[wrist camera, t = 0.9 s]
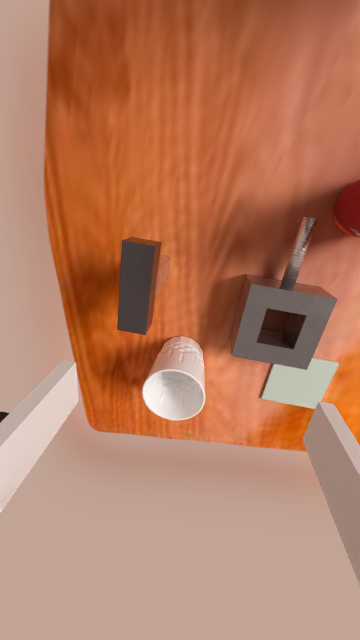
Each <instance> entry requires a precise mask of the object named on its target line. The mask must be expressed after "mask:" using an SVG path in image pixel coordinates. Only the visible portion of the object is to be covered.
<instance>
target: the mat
mask: <svg viewBox="0 0 360 640" xmlns="http://www.w3.org/2000/svg"><path fill="white" fill-rule="evenodd" d="M338 365H339V362H336V361H331V360H325V359H320V358H315V357H312V359H311V362H310V364H309V366H308V369H307V370H304V369H299V368H294V367H288V366H283V365H278V364H273V365H272V368H271V371H270V374H269V377H268V379H267V382H266V385H265V388H264V391H263V393H262V396H261V398H262V399H266V400H272V401H277V402H282V403H287V404H292V405H297V406H302V407H307V408H312V409H315V408H316V406H317V404H318V402H321V400H322V398H323V396H324V394H325V392H326V390H327V388H328V385H329V383H330V381H331V379H332V377H333V375H334V373H335V371H336V369H337V367H338Z"/></svg>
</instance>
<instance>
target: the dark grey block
mask: <svg viewBox="0 0 360 640" xmlns="http://www.w3.org/2000/svg"><path fill="white" fill-rule="evenodd" d="M160 249H161V242H157V241H151V240H146V239H140V238H134V237H131V238H128V239H125V240H122V253H121V271H120V290H119V308H118V327H117V330H121V331H127V332H132V333H137V334H143V335H146V333H147V332H148V330H149V328H150V326H151V324H152V318H153V309H154V301H155V297H156V296H157V294H158V293H159V291H160V290H161V288H162V287H163V285H164V284H165V282H166V281H167V279H168V274H169V266H170V259H171V257H167V256H161V255H160Z"/></svg>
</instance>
